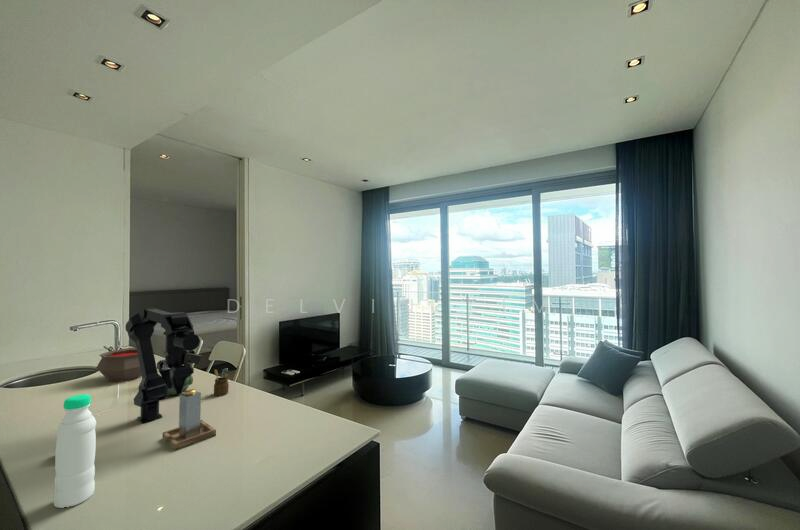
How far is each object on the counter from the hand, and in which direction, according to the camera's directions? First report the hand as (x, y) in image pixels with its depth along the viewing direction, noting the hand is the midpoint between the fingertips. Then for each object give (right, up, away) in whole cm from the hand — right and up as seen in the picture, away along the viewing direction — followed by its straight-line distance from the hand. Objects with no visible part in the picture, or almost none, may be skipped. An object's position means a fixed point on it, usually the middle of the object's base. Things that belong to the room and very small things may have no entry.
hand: (174, 391), depth 116 cm
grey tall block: (+10, -12, -7) cm, 17 cm away
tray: (+10, -13, -7) cm, 18 cm away
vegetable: (-23, -14, +33) cm, 43 cm away
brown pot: (-64, -15, +55) cm, 86 cm away
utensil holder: (-1, -14, +32) cm, 35 cm away
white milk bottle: (+2, -12, -37) cm, 39 cm away
